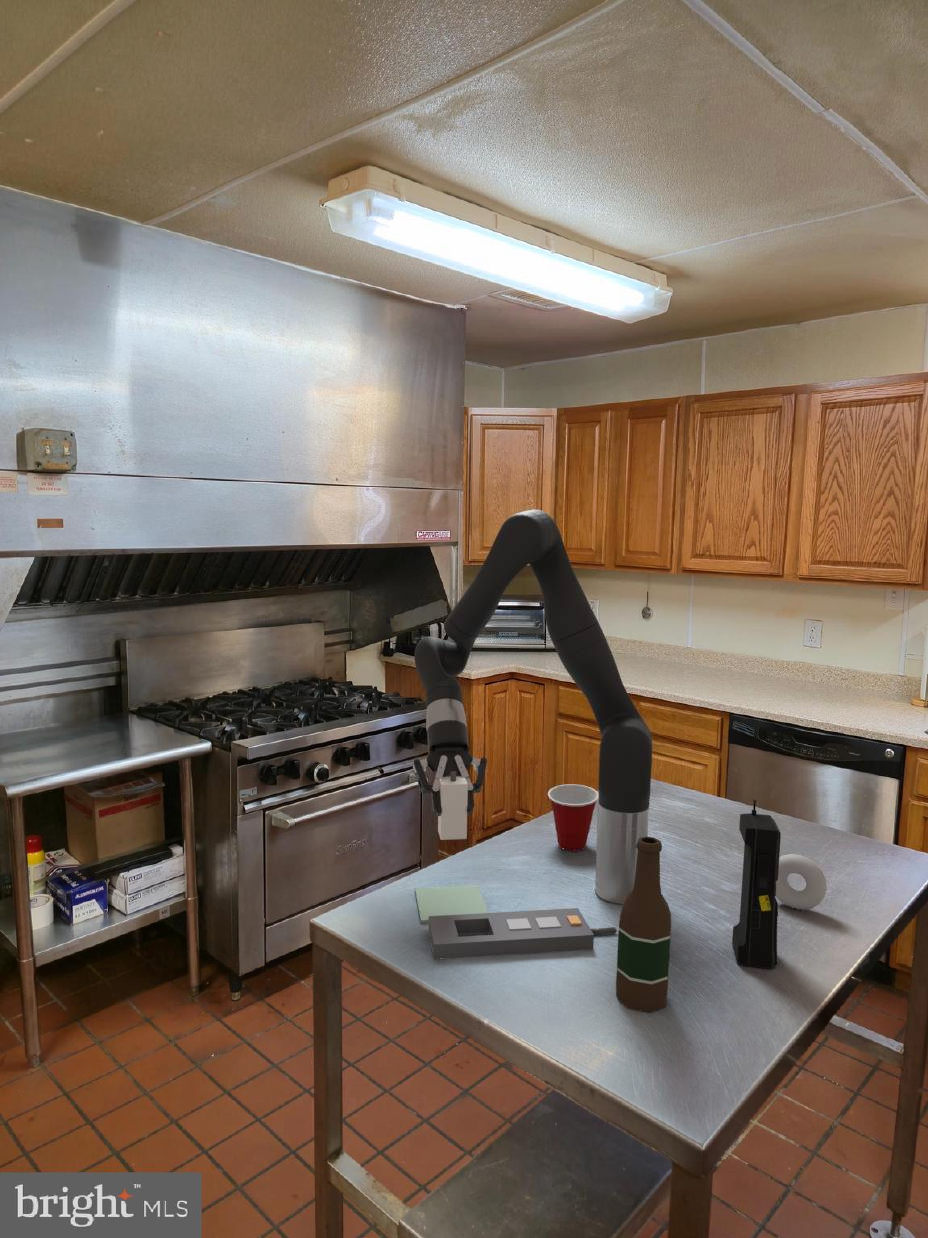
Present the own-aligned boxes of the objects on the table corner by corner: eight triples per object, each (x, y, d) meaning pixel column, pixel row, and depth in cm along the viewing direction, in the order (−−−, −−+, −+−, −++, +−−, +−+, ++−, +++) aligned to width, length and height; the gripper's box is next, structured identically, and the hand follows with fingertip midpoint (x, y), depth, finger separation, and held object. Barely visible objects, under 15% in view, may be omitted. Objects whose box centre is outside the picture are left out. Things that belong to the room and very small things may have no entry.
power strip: (607, 920, 137) (608, 904, 137) (625, 947, 129) (626, 930, 128) (428, 930, 133) (428, 914, 132) (434, 959, 124) (434, 942, 124)
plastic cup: (537, 849, 167) (539, 794, 166) (558, 832, 176) (560, 780, 175) (584, 861, 161) (587, 805, 160) (604, 843, 170) (607, 790, 169)
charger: (463, 829, 143) (464, 768, 141) (466, 838, 139) (468, 775, 137) (438, 830, 142) (439, 768, 141) (440, 839, 138) (441, 776, 136)
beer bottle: (608, 983, 118) (615, 830, 116) (658, 981, 119) (666, 829, 116) (623, 1015, 111) (630, 851, 108) (676, 1013, 111) (685, 851, 109)
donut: (826, 912, 142) (830, 859, 140) (822, 920, 139) (826, 866, 138) (769, 896, 147) (772, 845, 146) (763, 903, 145) (767, 851, 143)
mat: (478, 887, 149) (478, 885, 149) (489, 919, 137) (489, 916, 137) (415, 891, 147) (415, 888, 147) (421, 923, 135) (421, 920, 135)
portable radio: (779, 974, 122) (790, 818, 119) (738, 969, 123) (748, 815, 120) (770, 948, 129) (780, 801, 126) (731, 943, 130) (740, 797, 127)
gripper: (410, 719, 144) (414, 806, 134) (487, 717, 146) (497, 803, 136) (407, 739, 150) (411, 824, 140) (481, 737, 152) (491, 821, 142)
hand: (454, 813), depth 138 cm, fingers closed on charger, 4 cm apart
